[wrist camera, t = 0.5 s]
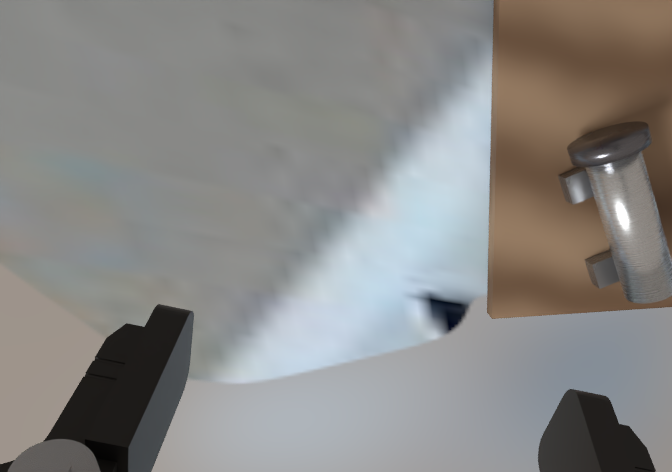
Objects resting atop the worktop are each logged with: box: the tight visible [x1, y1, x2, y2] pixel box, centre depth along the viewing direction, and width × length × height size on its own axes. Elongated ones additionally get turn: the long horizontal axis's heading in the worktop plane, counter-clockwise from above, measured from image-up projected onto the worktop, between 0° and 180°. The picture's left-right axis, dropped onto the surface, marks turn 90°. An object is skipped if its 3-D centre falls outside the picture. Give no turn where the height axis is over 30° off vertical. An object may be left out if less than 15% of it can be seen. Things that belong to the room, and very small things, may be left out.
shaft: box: [558, 121, 672, 304], centre depth 35 cm, size 9×4×4 cm, turn 22°
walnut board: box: [487, 0, 672, 319], centre depth 35 cm, size 30×12×1 cm, turn 2°
